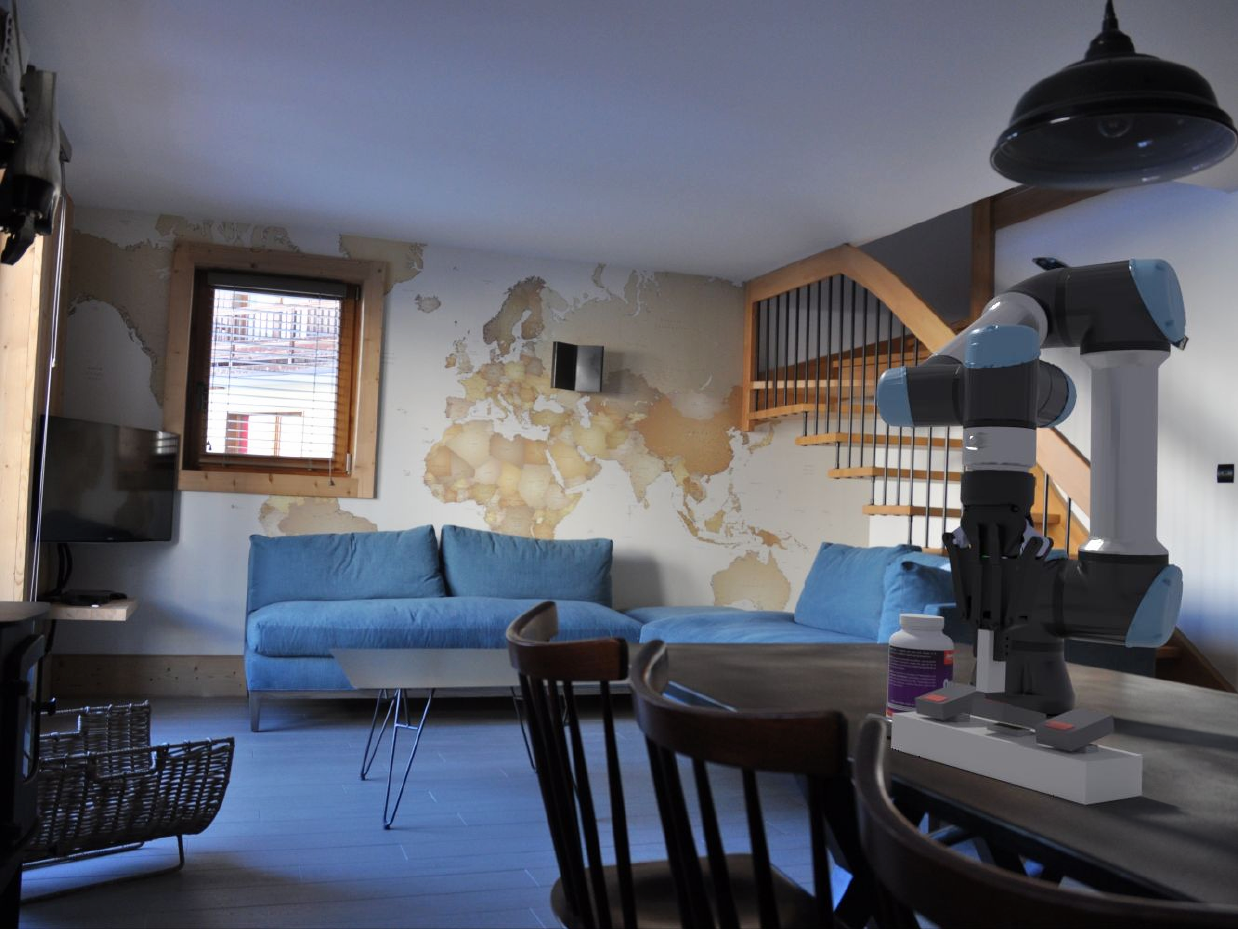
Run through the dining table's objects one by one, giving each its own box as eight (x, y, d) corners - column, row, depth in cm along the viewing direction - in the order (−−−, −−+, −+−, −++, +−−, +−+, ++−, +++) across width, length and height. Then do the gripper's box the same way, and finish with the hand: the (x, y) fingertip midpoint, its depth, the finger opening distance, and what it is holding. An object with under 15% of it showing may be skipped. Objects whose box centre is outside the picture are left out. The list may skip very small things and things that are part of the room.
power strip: (895, 729, 133) (897, 692, 133) (1141, 795, 105) (1142, 748, 105) (842, 734, 128) (844, 695, 129) (1084, 804, 100) (1086, 754, 100)
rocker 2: (1012, 723, 117) (1015, 706, 117) (1043, 730, 113) (1046, 713, 114) (970, 713, 113) (974, 696, 114) (1001, 721, 110) (1004, 703, 110)
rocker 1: (958, 697, 124) (956, 682, 124) (985, 703, 120) (984, 687, 120) (916, 713, 120) (914, 697, 120) (943, 720, 117) (942, 703, 117)
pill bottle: (954, 738, 130) (958, 620, 130) (887, 732, 131) (891, 616, 132) (947, 726, 138) (951, 615, 138) (884, 720, 139) (888, 611, 140)
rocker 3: (1079, 724, 110) (1077, 706, 110) (1114, 732, 107) (1112, 714, 107) (1036, 742, 107) (1034, 724, 106) (1071, 751, 103) (1069, 732, 103)
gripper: (926, 468, 117) (918, 682, 116) (1026, 466, 106) (1018, 703, 104) (972, 473, 121) (965, 680, 119) (1073, 471, 110) (1066, 700, 108)
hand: (990, 691), depth 112 cm, fingers closed
